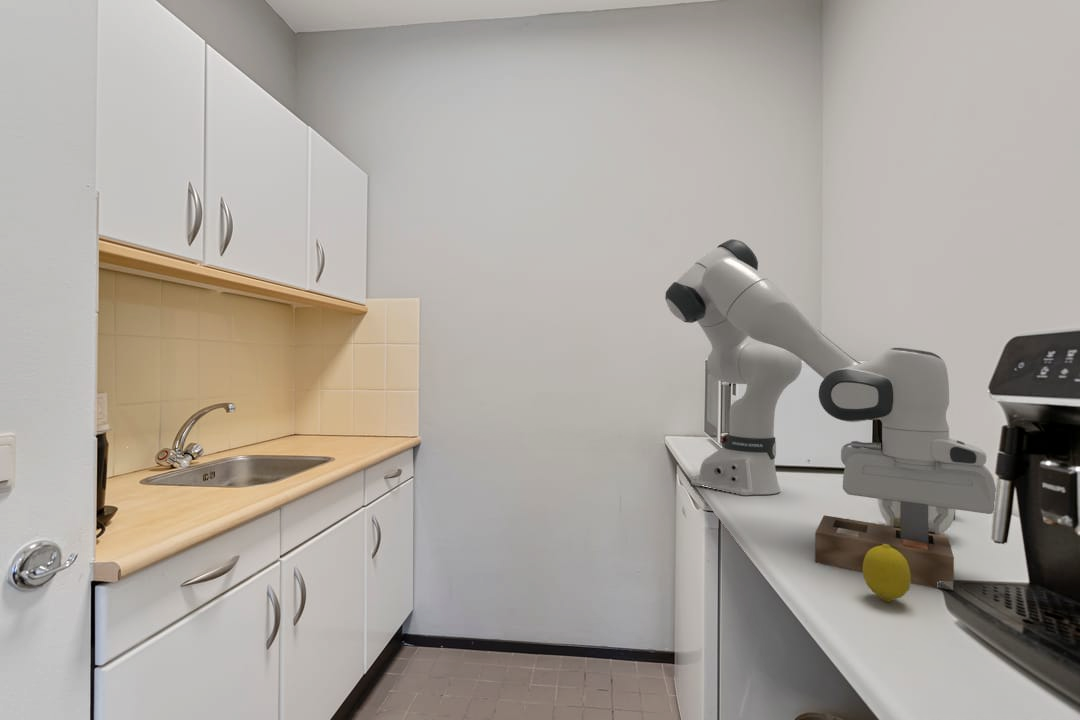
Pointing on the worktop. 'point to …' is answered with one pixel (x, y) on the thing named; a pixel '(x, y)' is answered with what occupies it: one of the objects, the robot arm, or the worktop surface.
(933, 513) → the lidded bowl
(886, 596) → the lemon
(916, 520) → the plug
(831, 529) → the socket block
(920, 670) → the worktop surface
